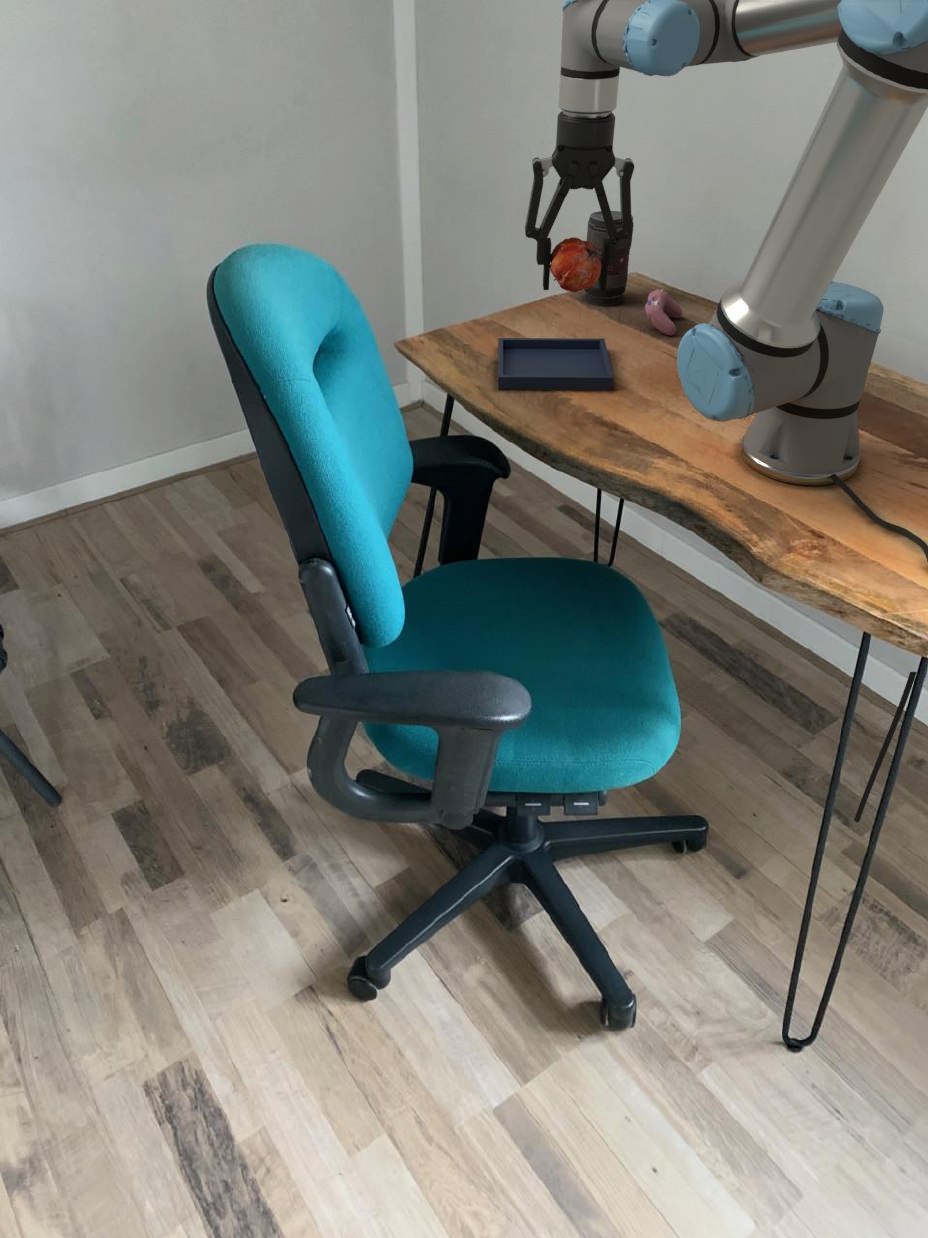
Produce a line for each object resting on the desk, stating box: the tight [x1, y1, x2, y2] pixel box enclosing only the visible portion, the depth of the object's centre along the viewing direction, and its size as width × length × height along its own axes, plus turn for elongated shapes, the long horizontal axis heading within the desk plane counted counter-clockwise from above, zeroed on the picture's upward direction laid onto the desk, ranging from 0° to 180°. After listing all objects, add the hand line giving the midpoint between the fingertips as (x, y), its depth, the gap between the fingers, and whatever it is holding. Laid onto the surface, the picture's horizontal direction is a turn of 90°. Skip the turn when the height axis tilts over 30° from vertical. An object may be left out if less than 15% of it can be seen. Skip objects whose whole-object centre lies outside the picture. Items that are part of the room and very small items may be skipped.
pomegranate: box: [550, 236, 602, 293], centre depth 136 cm, size 7×7×10 cm
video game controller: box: [644, 288, 683, 337], centre depth 166 cm, size 10×5×7 cm, turn 162°
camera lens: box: [583, 210, 635, 307], centre depth 173 cm, size 8×8×15 cm
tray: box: [497, 337, 614, 391], centre depth 152 cm, size 16×18×2 cm
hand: (573, 286), depth 138 cm, fingers closed on pomegranate, 7 cm apart
